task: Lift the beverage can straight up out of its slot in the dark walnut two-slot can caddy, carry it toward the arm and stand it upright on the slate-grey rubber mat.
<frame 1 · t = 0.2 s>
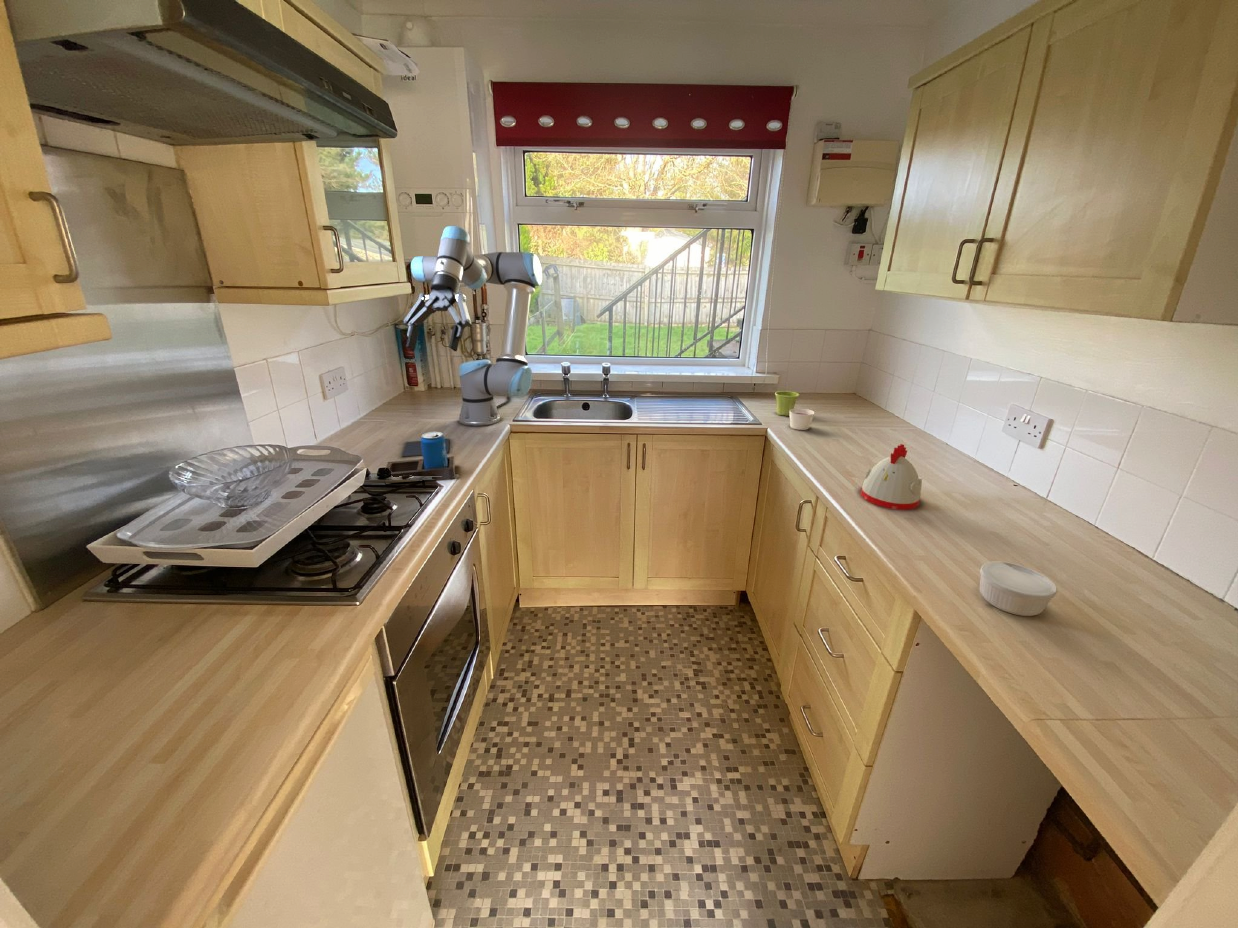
hand: (431, 349, 139), 35 cm above the worktop, tool tilted 35°, fingers open, 13 cm apart
plant pot: (784, 414, 211), on the worktop
mat: (426, 448, 169), on the worktop
kitchen timer: (889, 498, 136), on the worktop
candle: (799, 428, 194), on the worktop
can caddy: (421, 475, 147), on the worktop
ramekin: (1009, 602, 94), on the worktop
beverage can: (437, 474, 148), resting in can caddy
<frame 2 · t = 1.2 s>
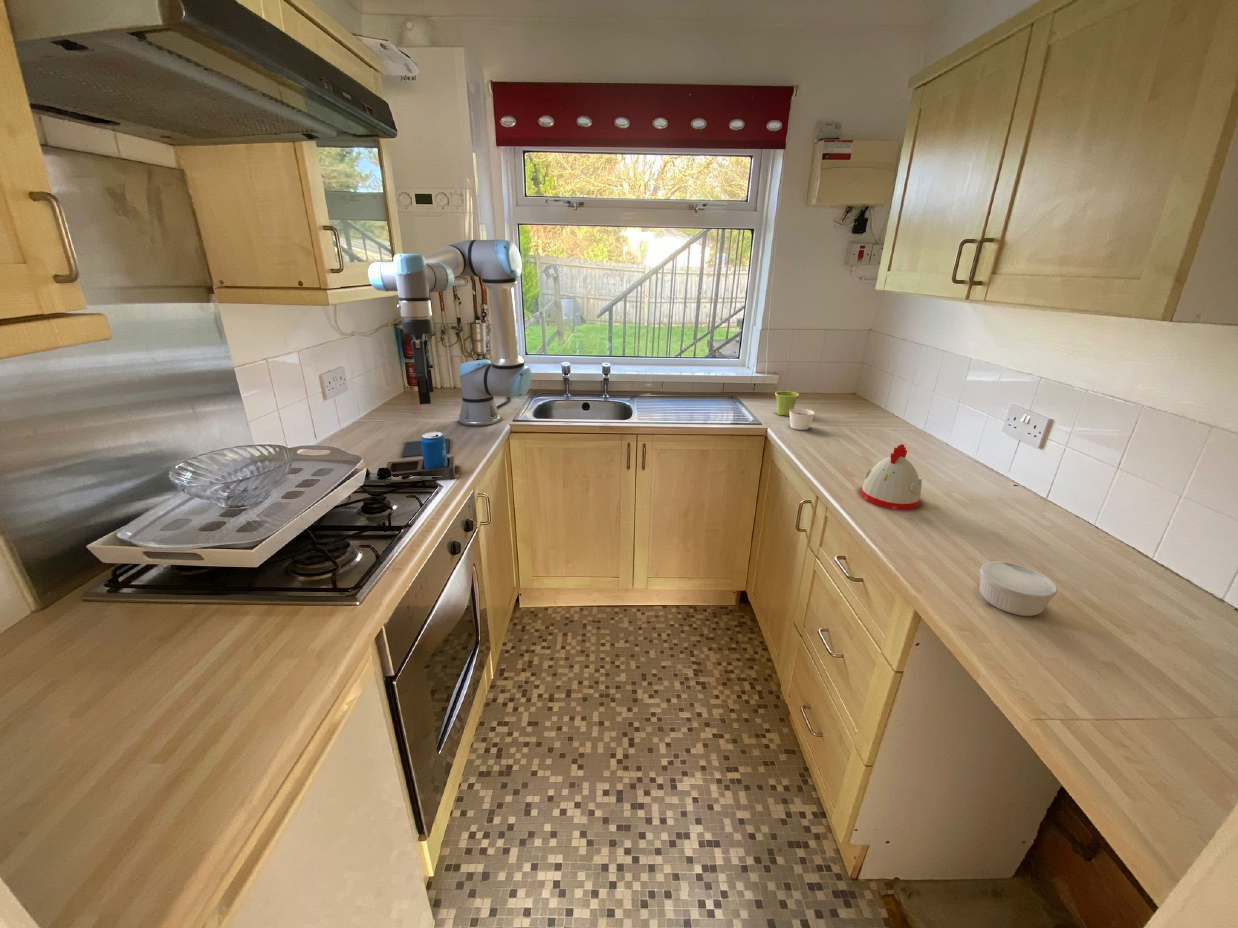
hand: (427, 397, 140), 23 cm above the worktop, tool pointing down, fingers open, 13 cm apart
nothing on the worktop moved.
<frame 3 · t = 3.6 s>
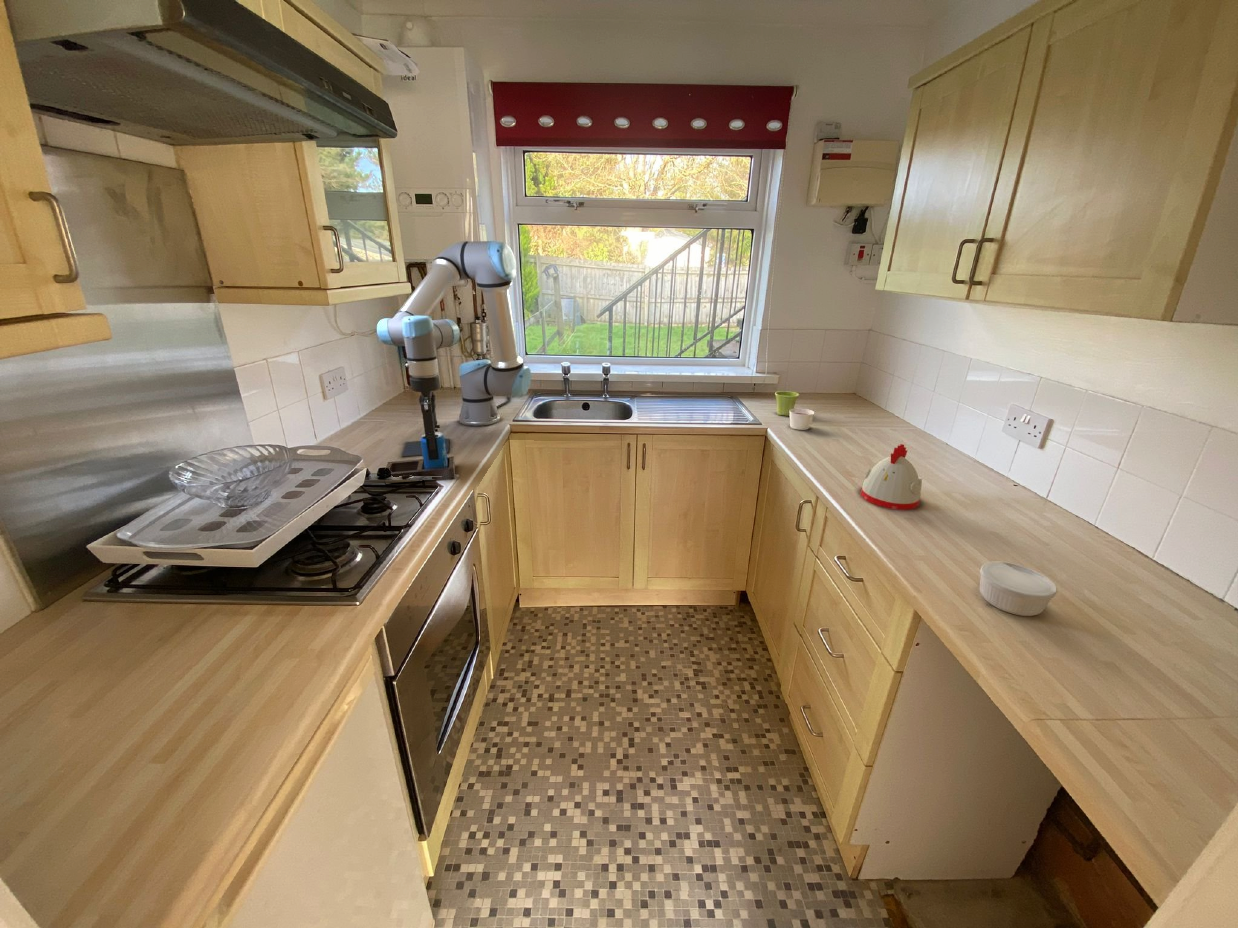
hand: (434, 454, 146), 6 cm above the worktop, tool pointing down, fingers closed on beverage can, 6 cm apart
beverage can: (437, 474, 148), resting in can caddy, touching gripper
everything else where it was.
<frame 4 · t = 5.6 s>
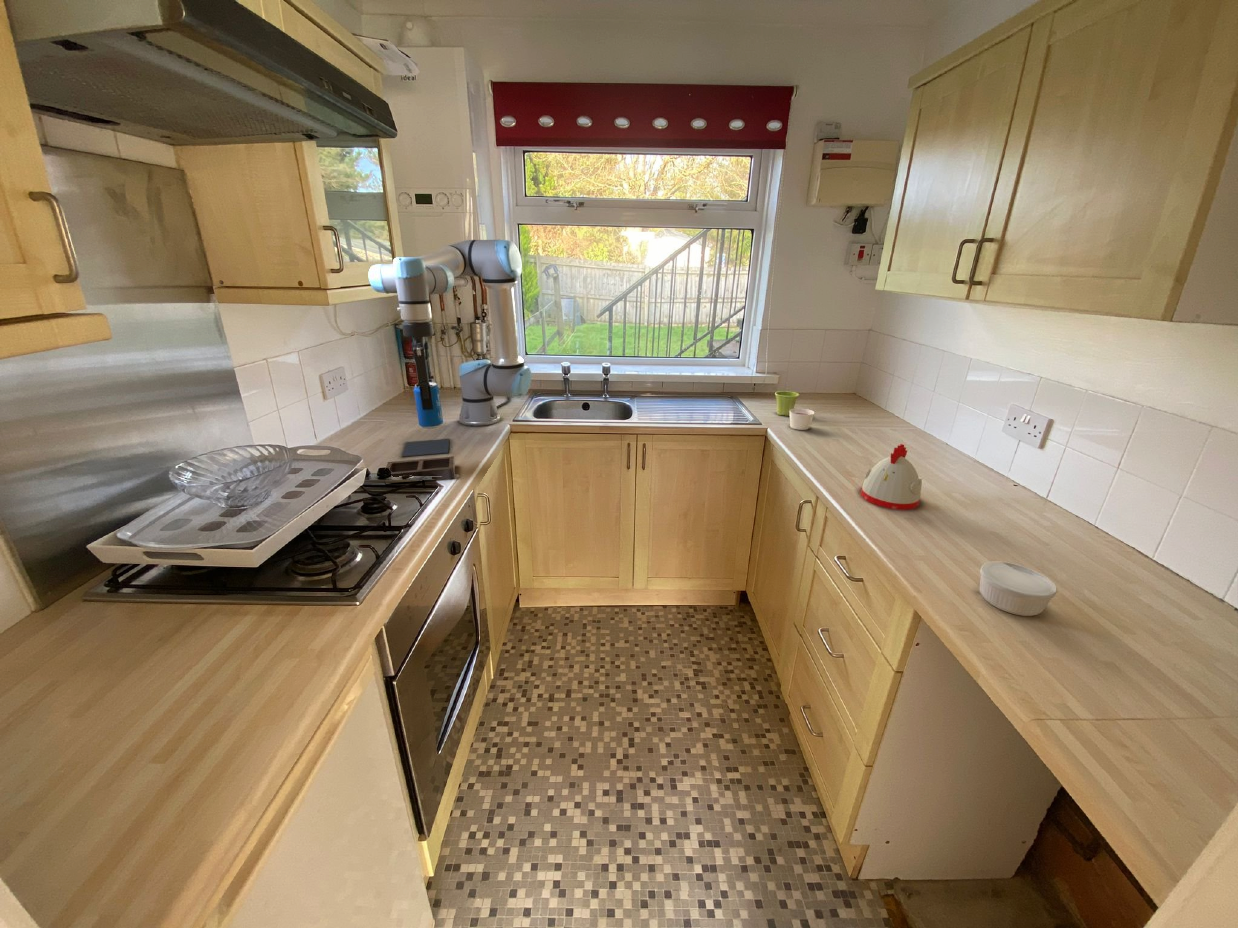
hand: (428, 405, 142), 20 cm above the worktop, tool pointing down, fingers closed on beverage can, 6 cm apart
beverage can: (431, 426, 144), point 14 cm above the worktop, touching gripper
everything else where it was.
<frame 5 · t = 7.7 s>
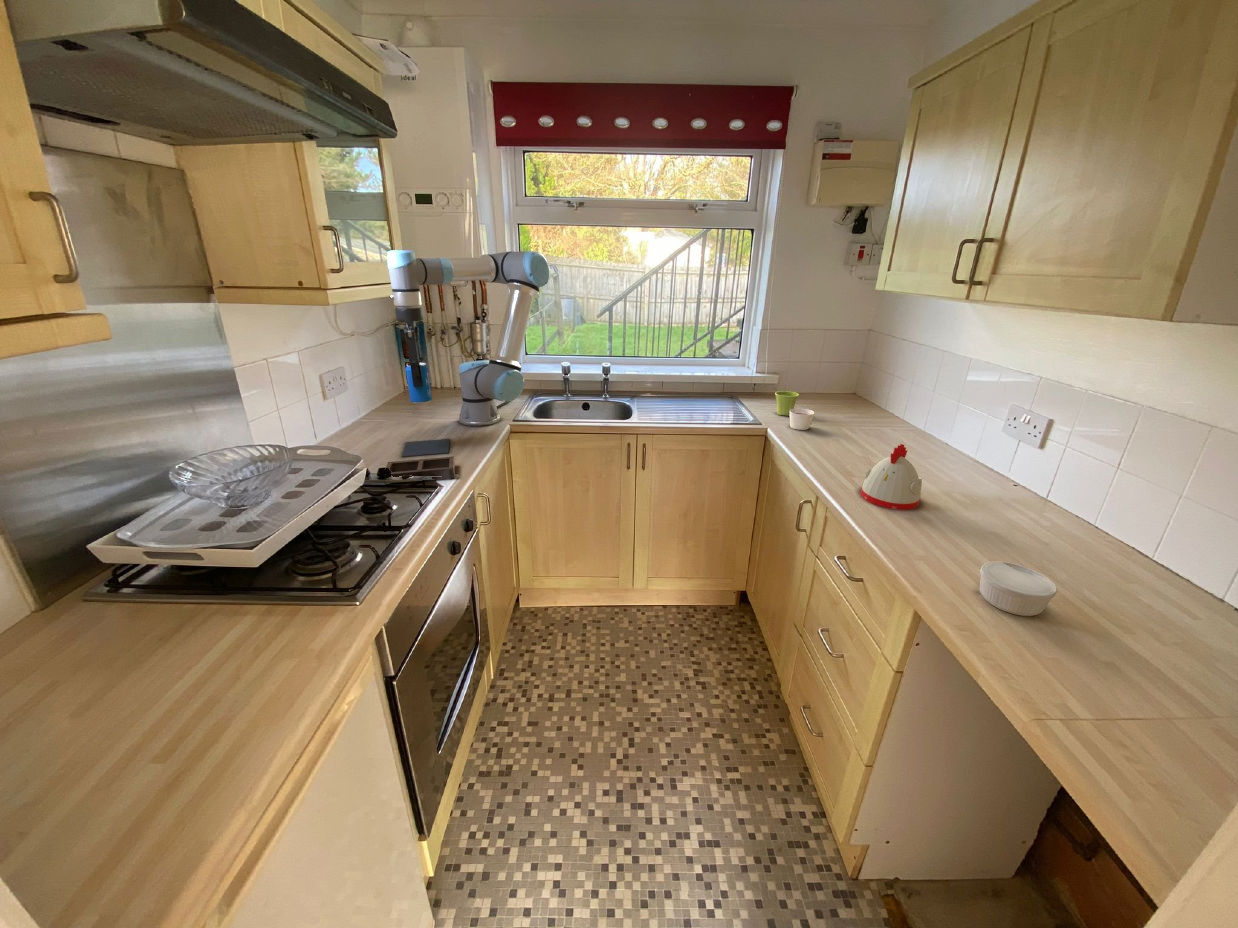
hand: (419, 383, 158), 22 cm above the worktop, tool pointing down, fingers closed on beverage can, 6 cm apart
beverage can: (421, 402, 161), point 16 cm above the worktop, touching gripper
everything else where it was.
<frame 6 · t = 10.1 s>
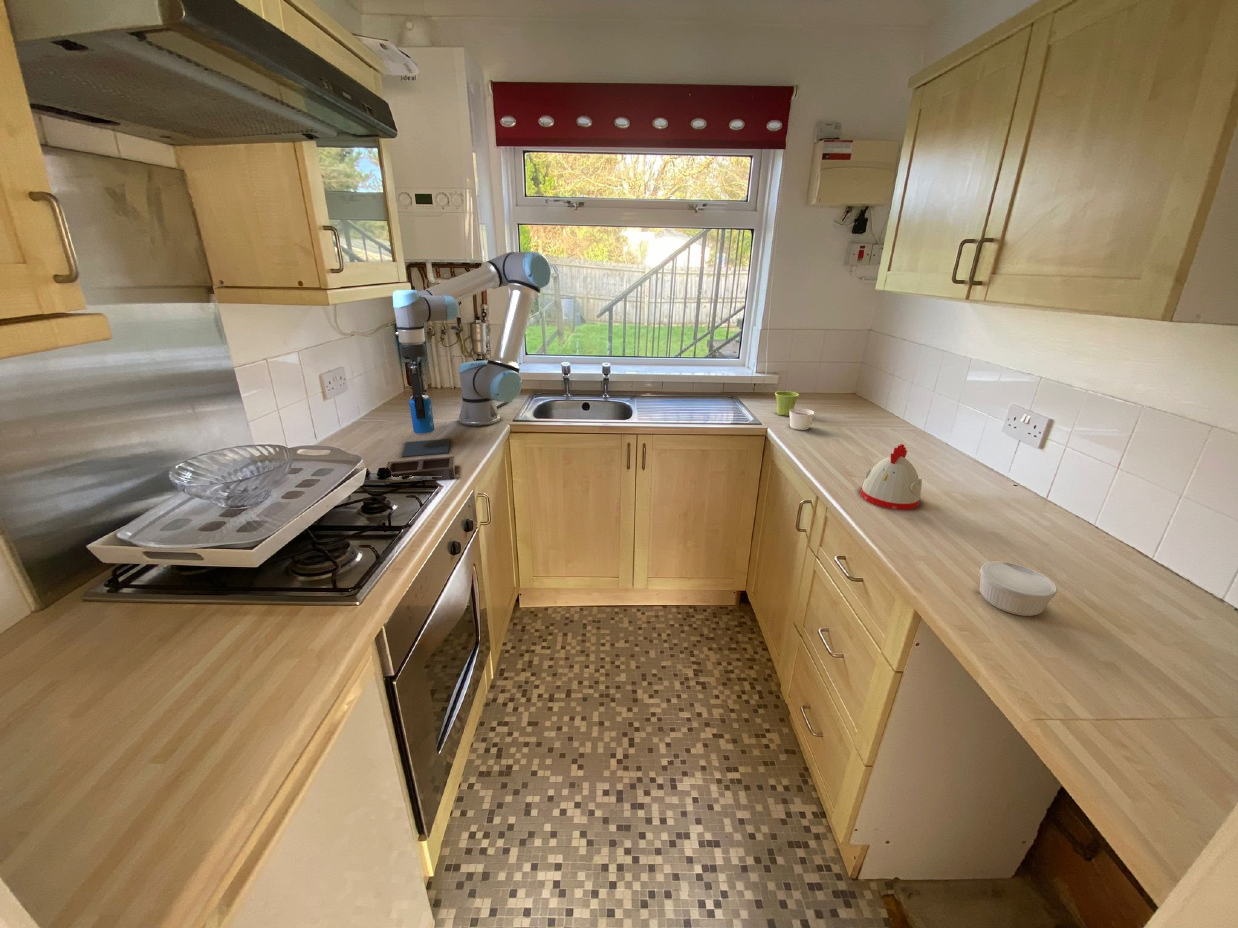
hand: (422, 415, 164), 11 cm above the worktop, tool pointing down, fingers closed on beverage can, 6 cm apart
beverage can: (424, 433, 167), point 5 cm above the worktop, touching gripper
everything else where it was.
when the fingers open (6 cm above the worktop, at t = 11.7 s): beverage can stays where it is, resting on mat.
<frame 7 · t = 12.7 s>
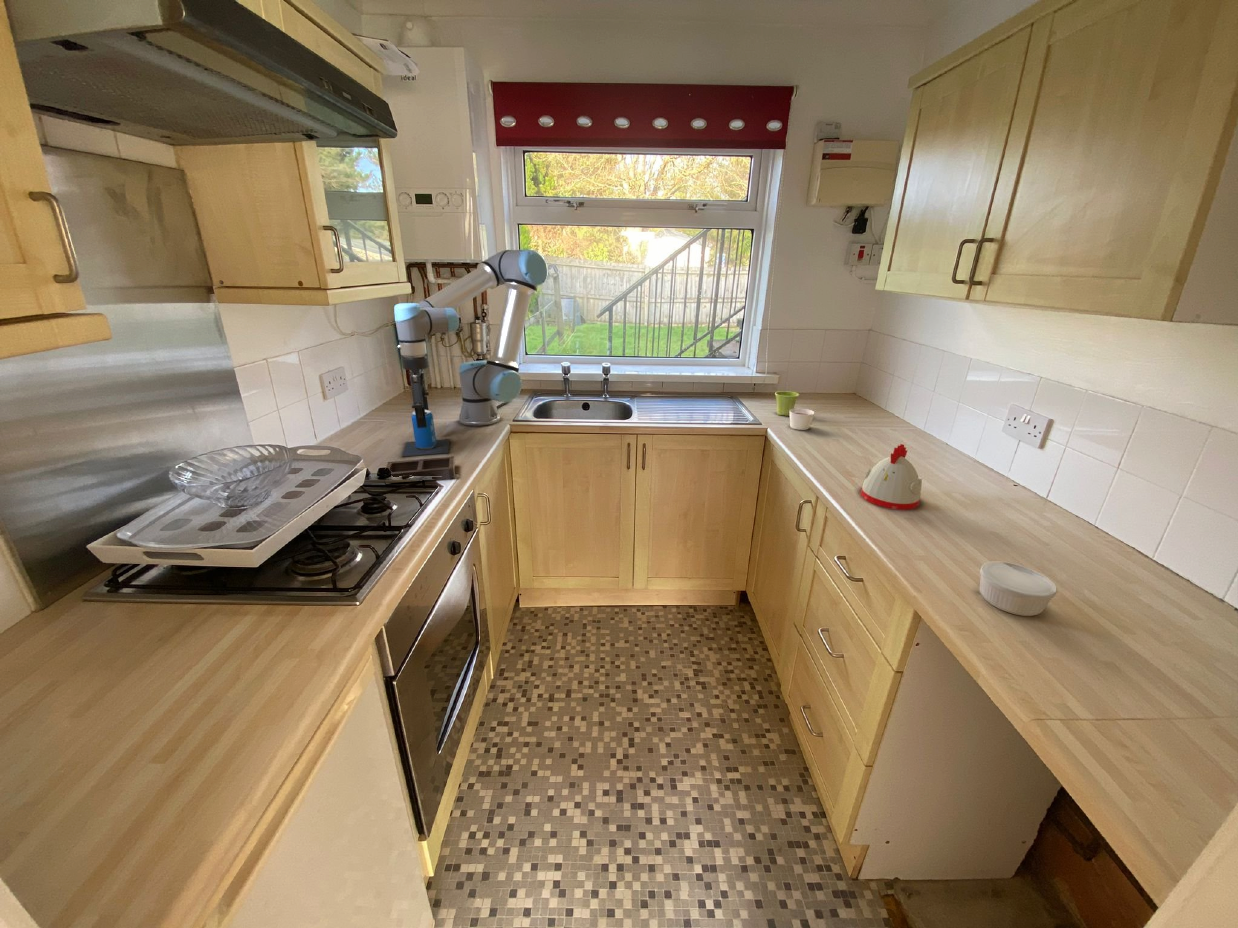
hand: (423, 421, 165), 9 cm above the worktop, tool pointing down, fingers open, 13 cm apart
beverage can: (426, 447, 169), resting on mat
everything else where it was.
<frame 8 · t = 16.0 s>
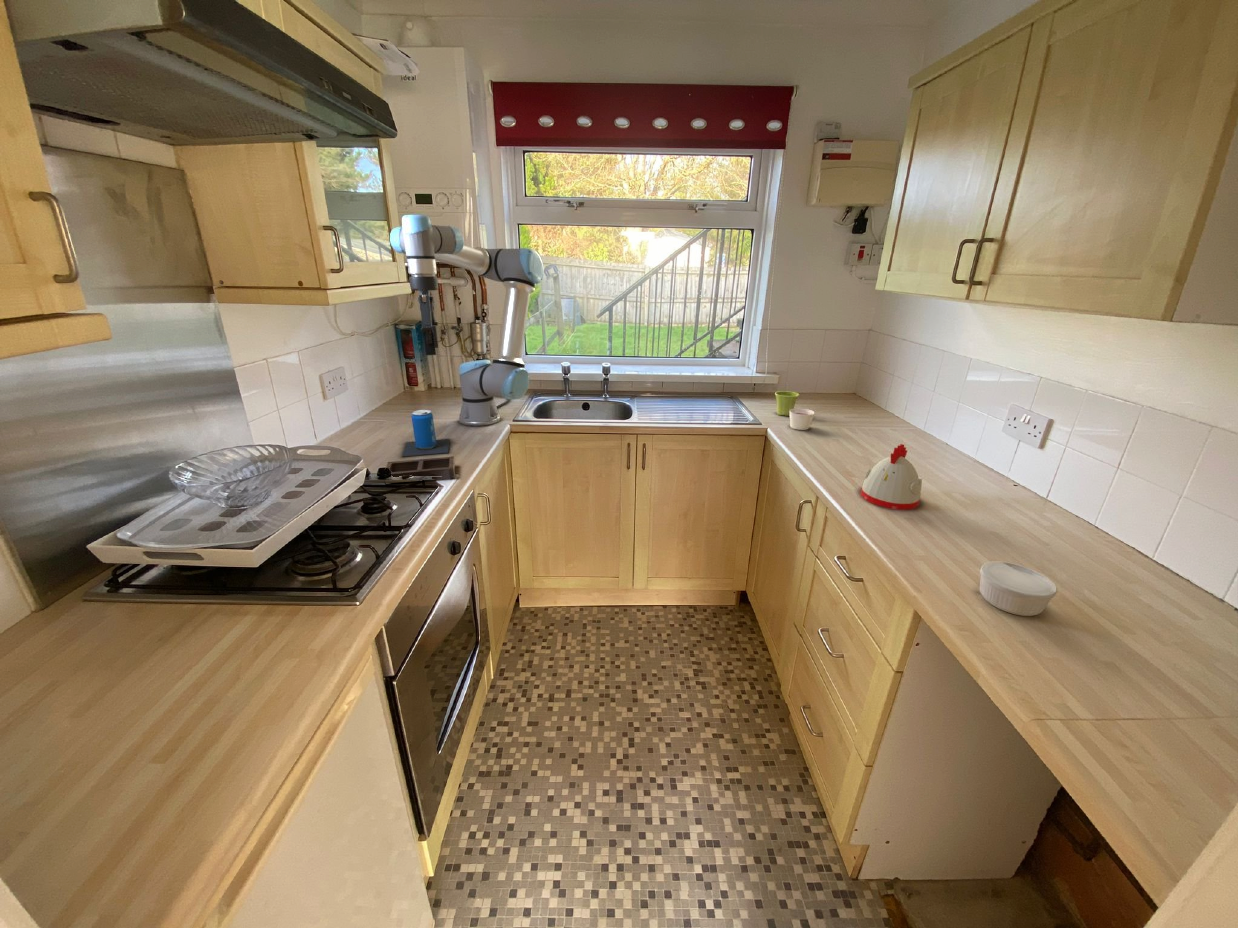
hand: (432, 351, 152), 33 cm above the worktop, tool pointing down, fingers open, 13 cm apart
nothing on the worktop moved.
at the end: beverage can inside the target area on the mat (0.1 cm from its centre), point 0.2 cm above the mat's base; beverage can tilted 0°; the gripper is holding nothing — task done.
